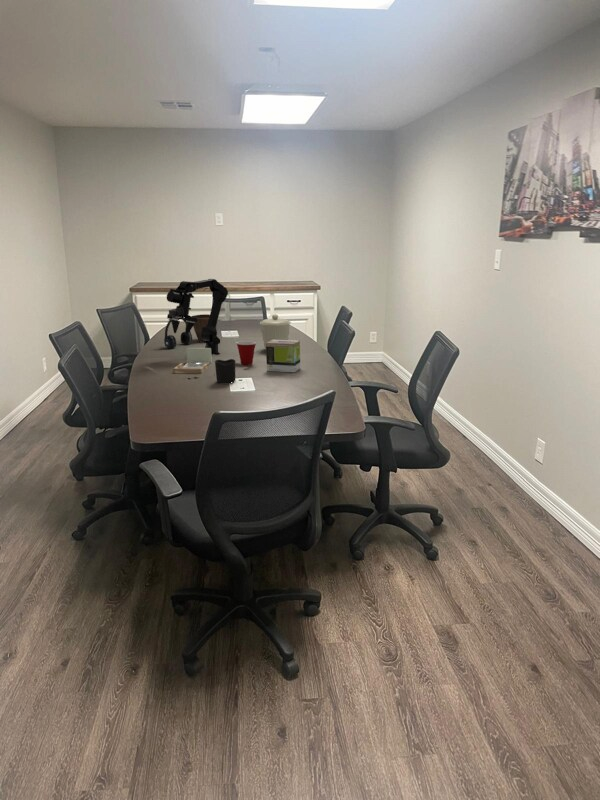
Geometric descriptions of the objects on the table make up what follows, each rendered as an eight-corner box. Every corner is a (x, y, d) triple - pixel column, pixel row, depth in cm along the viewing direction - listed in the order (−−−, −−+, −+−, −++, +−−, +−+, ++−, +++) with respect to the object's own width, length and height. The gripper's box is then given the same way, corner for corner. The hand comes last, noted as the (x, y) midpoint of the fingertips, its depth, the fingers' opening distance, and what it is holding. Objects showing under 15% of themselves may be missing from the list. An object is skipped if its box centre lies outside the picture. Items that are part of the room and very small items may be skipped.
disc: (199, 363, 289) (199, 360, 289) (206, 366, 283) (206, 363, 283) (185, 365, 285) (185, 362, 285) (191, 368, 279) (191, 365, 278)
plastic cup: (260, 362, 294) (260, 340, 290) (250, 367, 285) (250, 344, 281) (243, 361, 298) (242, 339, 295) (233, 365, 289) (231, 343, 285)
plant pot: (214, 343, 347) (212, 317, 342) (190, 343, 347) (188, 318, 342) (217, 338, 361) (216, 314, 356) (195, 338, 361) (193, 314, 357)
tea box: (300, 368, 281) (300, 340, 277) (294, 373, 272) (293, 343, 268) (273, 366, 286) (272, 338, 281) (266, 371, 277) (265, 342, 272)
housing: (181, 368, 284) (181, 362, 283) (208, 369, 282) (208, 362, 281) (173, 375, 271) (173, 369, 270) (201, 375, 269) (200, 369, 268)
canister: (286, 346, 336) (285, 311, 329) (295, 351, 319) (294, 315, 313) (257, 348, 330) (256, 313, 324) (265, 354, 314) (263, 317, 307)
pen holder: (227, 385, 252) (226, 364, 249) (211, 382, 257) (210, 361, 254) (240, 380, 260) (239, 360, 257) (224, 378, 265) (223, 357, 262)
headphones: (171, 349, 329) (168, 319, 323) (162, 348, 332) (160, 318, 327) (194, 344, 345) (192, 315, 340) (186, 343, 349) (184, 314, 343)
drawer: (188, 363, 292) (186, 347, 290) (212, 364, 291) (211, 348, 288) (180, 370, 279) (178, 353, 277) (205, 370, 278) (204, 353, 275)
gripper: (161, 301, 292) (157, 330, 294) (184, 303, 282) (180, 333, 283) (177, 304, 301) (173, 332, 303) (200, 307, 291) (196, 336, 292)
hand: (180, 334), depth 295 cm, fingers open, 9 cm apart
